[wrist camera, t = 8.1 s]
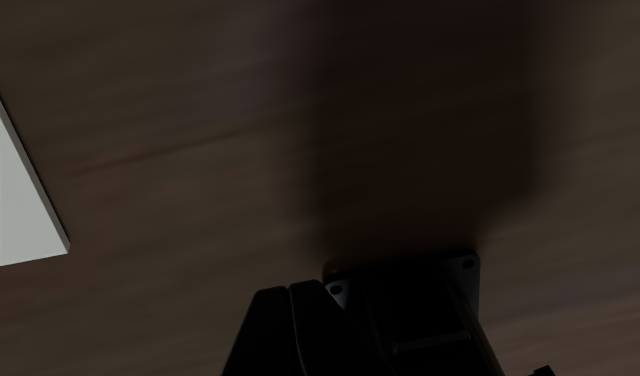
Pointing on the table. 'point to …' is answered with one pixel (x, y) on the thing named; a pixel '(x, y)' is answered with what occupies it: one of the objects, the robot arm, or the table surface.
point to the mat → (24, 205)
